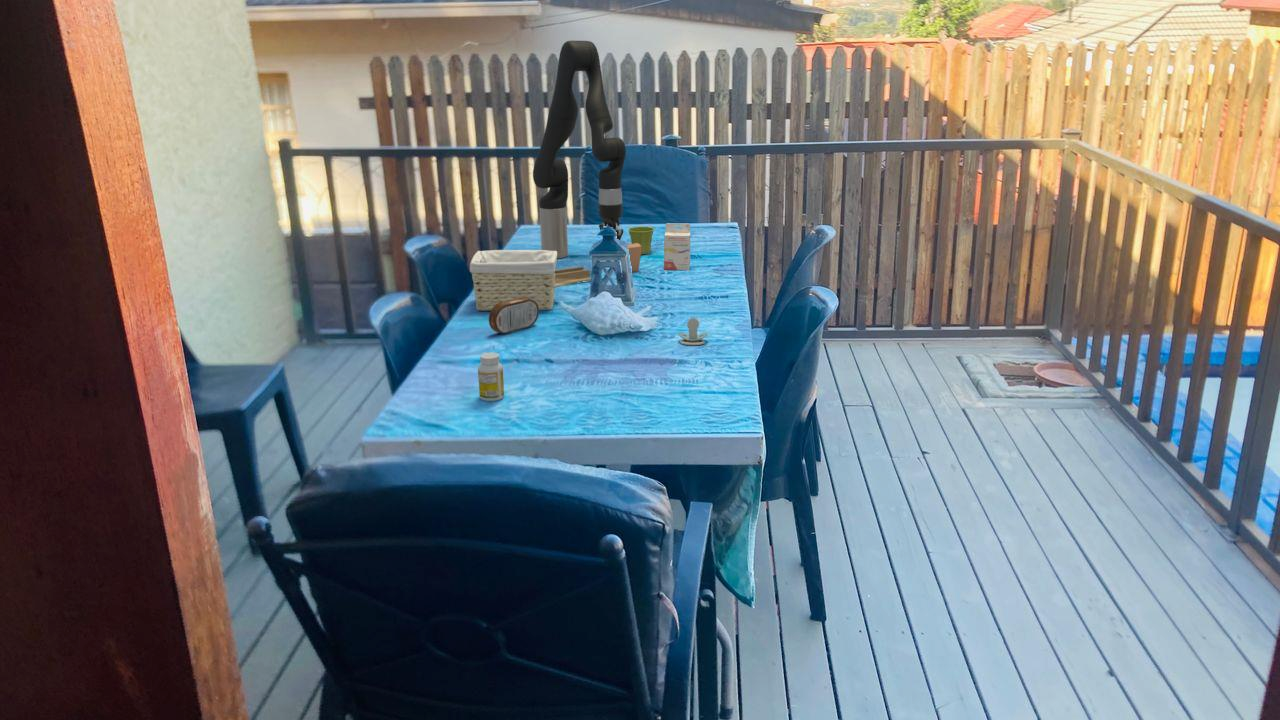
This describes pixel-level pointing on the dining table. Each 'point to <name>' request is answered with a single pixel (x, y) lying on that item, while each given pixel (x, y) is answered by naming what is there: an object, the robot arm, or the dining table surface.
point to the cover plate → (635, 255)
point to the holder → (571, 276)
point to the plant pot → (642, 237)
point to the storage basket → (513, 277)
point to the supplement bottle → (490, 377)
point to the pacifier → (692, 334)
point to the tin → (513, 315)
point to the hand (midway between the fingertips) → (611, 255)
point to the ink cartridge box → (677, 247)
